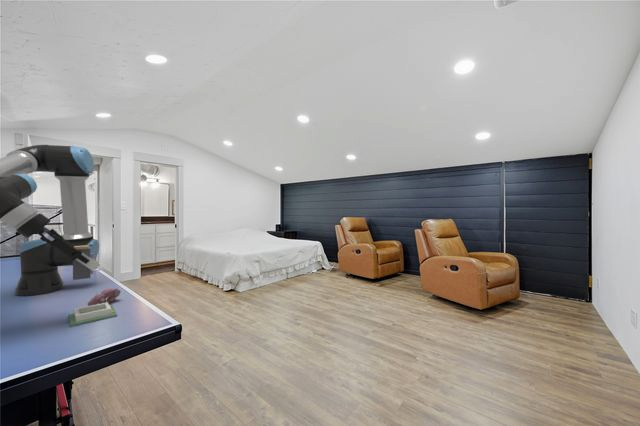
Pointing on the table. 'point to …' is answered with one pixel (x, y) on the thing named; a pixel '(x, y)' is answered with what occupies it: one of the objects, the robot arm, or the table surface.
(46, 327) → the table surface
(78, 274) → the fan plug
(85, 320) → the green square tray
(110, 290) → the video game controller
